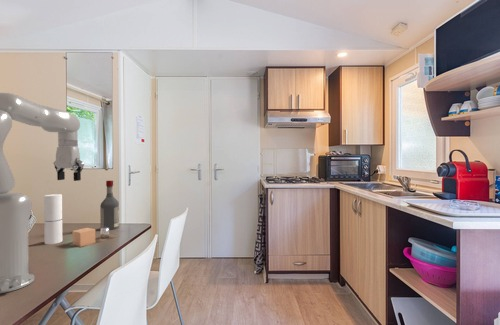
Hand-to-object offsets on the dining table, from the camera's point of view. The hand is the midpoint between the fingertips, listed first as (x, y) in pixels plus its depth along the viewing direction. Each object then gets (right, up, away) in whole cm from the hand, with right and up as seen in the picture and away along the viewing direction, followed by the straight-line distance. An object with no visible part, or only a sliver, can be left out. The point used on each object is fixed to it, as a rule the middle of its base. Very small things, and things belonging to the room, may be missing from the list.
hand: (69, 180), depth 123 cm
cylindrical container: (-13, -33, +7) cm, 36 cm away
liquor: (+2, -33, +33) cm, 46 cm away
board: (+7, -33, +10) cm, 35 cm away
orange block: (+4, -32, +5) cm, 32 cm away
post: (+9, -31, +14) cm, 36 cm away
